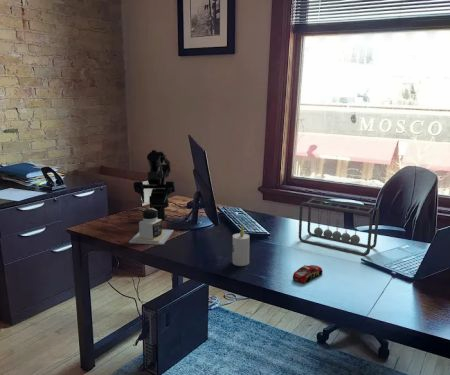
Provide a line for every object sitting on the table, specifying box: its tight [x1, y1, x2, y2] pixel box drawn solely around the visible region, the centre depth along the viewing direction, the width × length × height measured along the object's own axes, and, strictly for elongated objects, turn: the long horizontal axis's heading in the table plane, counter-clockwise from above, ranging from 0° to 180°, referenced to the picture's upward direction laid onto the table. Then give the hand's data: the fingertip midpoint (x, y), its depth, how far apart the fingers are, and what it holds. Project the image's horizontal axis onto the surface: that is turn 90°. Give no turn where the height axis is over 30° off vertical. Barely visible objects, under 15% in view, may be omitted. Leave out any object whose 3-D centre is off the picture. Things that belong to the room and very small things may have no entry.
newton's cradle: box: [298, 196, 380, 257], centre depth 166 cm, size 30×10×18 cm, turn 55°
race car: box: [292, 264, 324, 284], centre depth 139 cm, size 13×5×4 cm, turn 133°
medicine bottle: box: [138, 208, 163, 240], centre depth 173 cm, size 7×7×12 cm
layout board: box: [128, 228, 174, 246], centre depth 177 cm, size 17×15×1 cm
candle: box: [231, 224, 251, 267], centre depth 149 cm, size 6×6×15 cm
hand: (153, 202), depth 182 cm, fingers open, 9 cm apart
